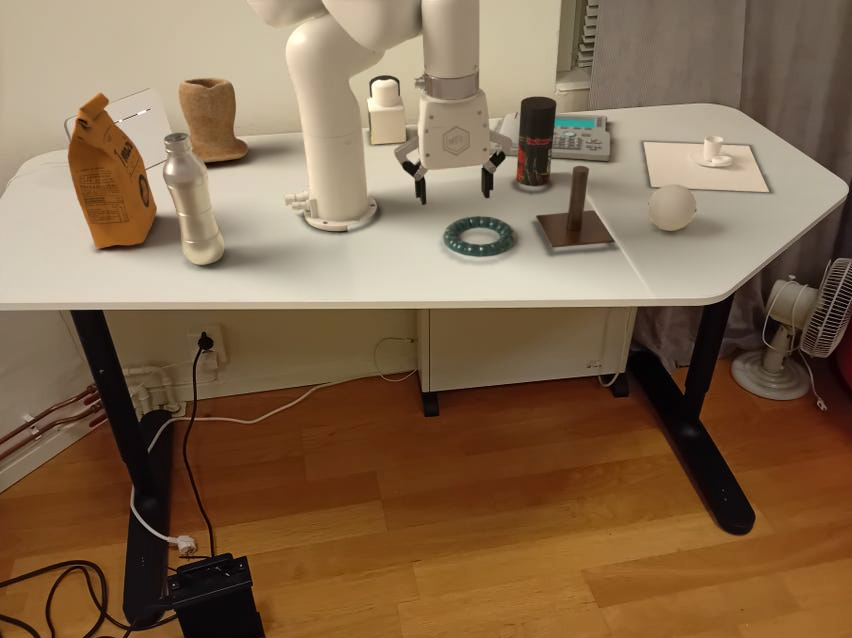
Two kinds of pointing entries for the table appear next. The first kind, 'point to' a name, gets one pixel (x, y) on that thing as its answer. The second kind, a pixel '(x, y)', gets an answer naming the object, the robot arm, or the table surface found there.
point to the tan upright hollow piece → (211, 118)
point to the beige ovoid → (672, 207)
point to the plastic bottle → (192, 200)
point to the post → (575, 218)
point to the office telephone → (565, 136)
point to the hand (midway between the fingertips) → (454, 197)
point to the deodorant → (535, 140)
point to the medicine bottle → (386, 111)
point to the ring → (479, 249)
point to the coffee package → (109, 178)
